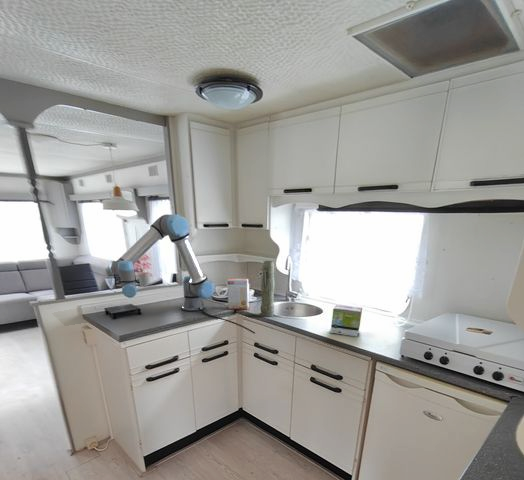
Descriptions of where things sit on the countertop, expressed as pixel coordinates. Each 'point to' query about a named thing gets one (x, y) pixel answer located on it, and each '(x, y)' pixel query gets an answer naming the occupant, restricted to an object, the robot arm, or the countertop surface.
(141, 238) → the robot arm
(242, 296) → the cracker box
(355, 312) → the tea box
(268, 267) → the thermos
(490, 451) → the countertop surface
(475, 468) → the countertop surface
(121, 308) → the black footed platform
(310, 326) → the countertop surface
